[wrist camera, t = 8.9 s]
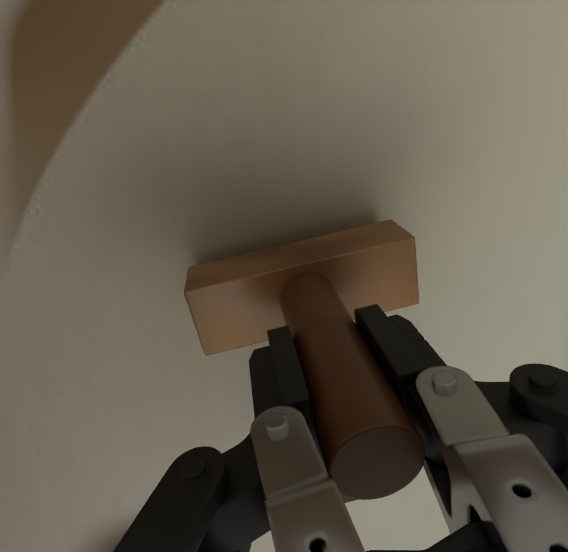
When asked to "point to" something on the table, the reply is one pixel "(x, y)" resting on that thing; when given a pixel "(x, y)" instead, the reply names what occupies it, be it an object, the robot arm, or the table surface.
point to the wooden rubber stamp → (325, 340)
